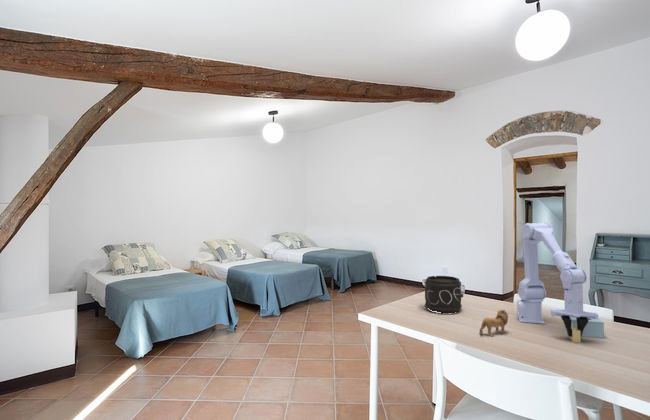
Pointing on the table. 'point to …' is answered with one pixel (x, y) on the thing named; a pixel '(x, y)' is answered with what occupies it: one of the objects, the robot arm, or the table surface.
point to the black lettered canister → (443, 294)
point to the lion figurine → (495, 322)
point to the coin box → (591, 327)
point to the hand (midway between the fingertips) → (574, 336)
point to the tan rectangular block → (575, 334)
